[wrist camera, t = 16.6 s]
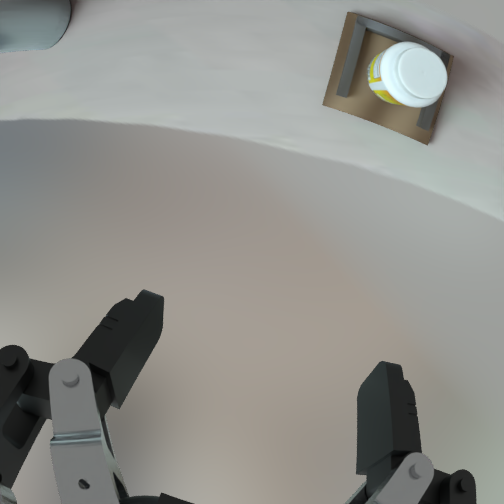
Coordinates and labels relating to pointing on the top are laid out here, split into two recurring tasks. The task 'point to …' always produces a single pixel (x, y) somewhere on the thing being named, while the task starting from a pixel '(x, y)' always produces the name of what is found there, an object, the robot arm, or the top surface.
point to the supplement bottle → (407, 75)
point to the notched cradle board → (356, 84)
